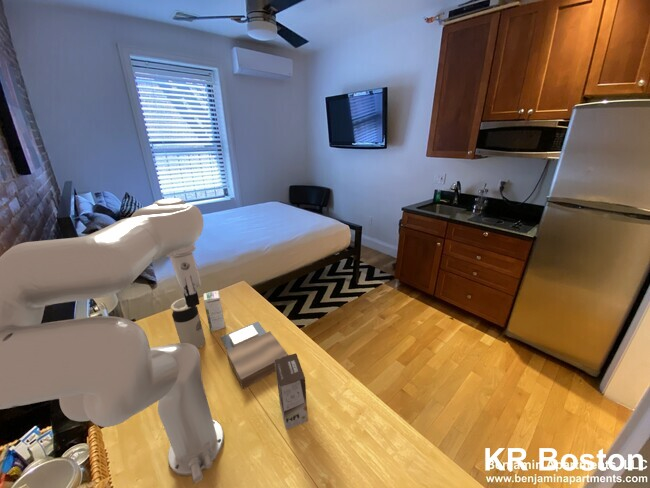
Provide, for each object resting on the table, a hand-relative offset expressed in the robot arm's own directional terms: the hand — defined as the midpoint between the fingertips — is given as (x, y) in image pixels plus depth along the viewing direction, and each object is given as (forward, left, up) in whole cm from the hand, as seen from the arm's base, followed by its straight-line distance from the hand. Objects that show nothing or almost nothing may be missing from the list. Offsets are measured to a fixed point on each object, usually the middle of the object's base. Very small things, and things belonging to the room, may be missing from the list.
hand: (193, 304), depth 78 cm
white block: (+7, -14, -24) cm, 29 cm away
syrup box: (+21, -8, -27) cm, 35 cm away
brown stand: (-6, -14, -26) cm, 31 cm away
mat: (+8, -15, -26) cm, 31 cm away
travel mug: (+16, +2, -27) cm, 31 cm away
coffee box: (-28, -15, -27) cm, 41 cm away
